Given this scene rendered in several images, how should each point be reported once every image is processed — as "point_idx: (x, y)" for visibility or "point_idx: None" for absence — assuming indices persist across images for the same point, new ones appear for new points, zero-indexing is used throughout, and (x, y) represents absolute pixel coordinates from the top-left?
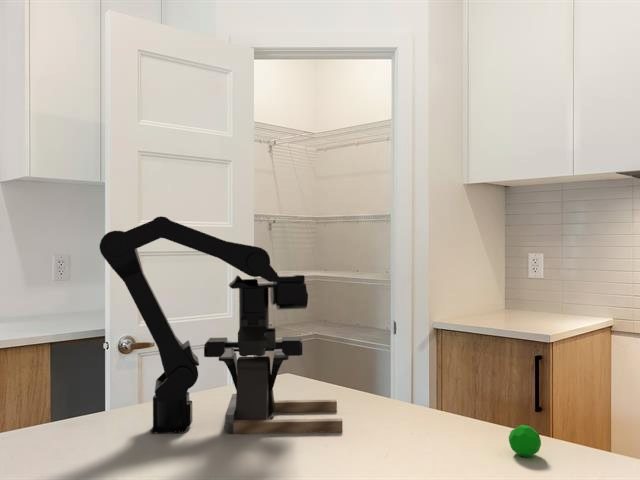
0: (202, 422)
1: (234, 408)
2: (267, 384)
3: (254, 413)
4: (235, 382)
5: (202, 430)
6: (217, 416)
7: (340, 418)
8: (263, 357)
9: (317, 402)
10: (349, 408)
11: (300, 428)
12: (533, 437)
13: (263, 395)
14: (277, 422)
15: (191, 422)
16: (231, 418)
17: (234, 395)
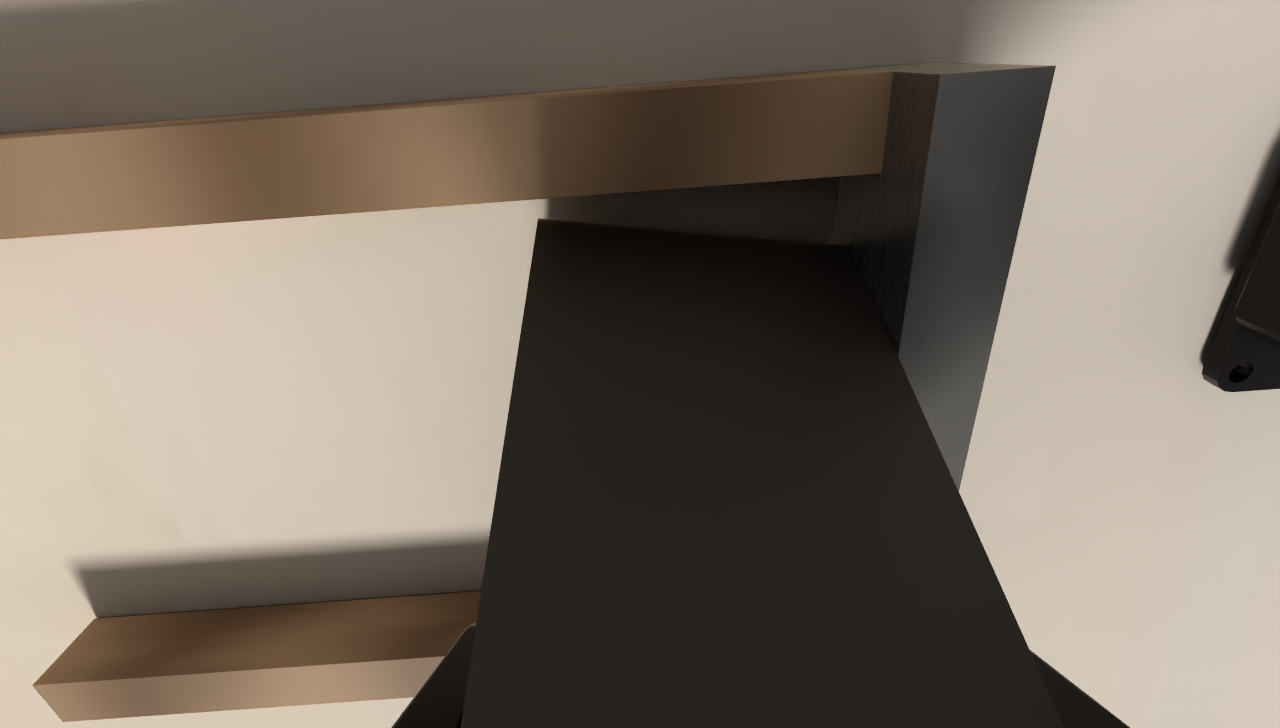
0: (1101, 376)
1: (910, 343)
2: (478, 633)
3: (667, 295)
4: (1050, 689)
5: (1134, 175)
6: (968, 502)
7: None
8: None
9: (194, 669)
10: (33, 667)
11: (152, 123)
12: None
13: (556, 458)
14: (371, 113)
15: (1259, 267)
16: (943, 70)
17: None
